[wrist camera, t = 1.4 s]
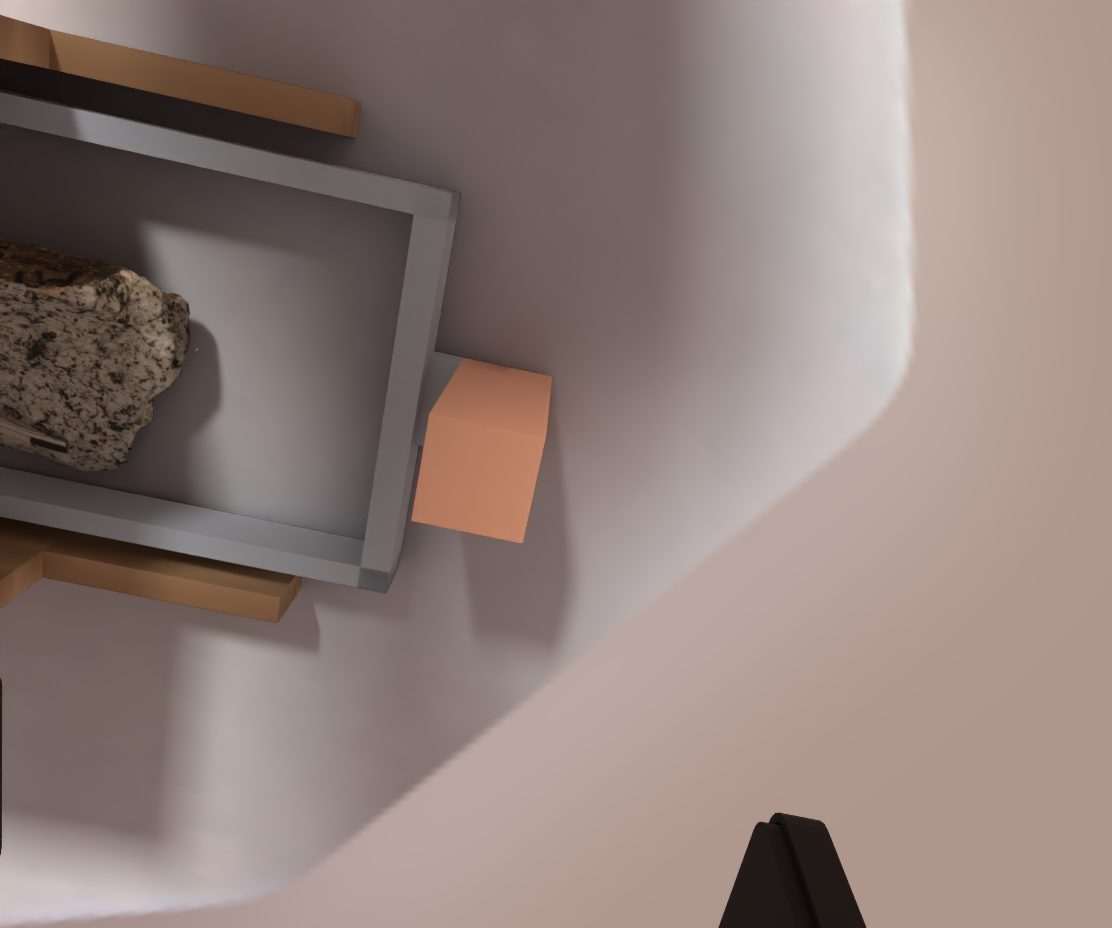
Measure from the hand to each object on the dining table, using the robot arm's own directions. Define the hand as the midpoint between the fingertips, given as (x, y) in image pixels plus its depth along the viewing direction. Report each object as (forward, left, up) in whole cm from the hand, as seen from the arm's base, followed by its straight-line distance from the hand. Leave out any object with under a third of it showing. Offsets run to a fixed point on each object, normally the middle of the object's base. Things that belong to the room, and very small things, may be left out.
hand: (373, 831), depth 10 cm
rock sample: (+1, -14, -20) cm, 24 cm away
